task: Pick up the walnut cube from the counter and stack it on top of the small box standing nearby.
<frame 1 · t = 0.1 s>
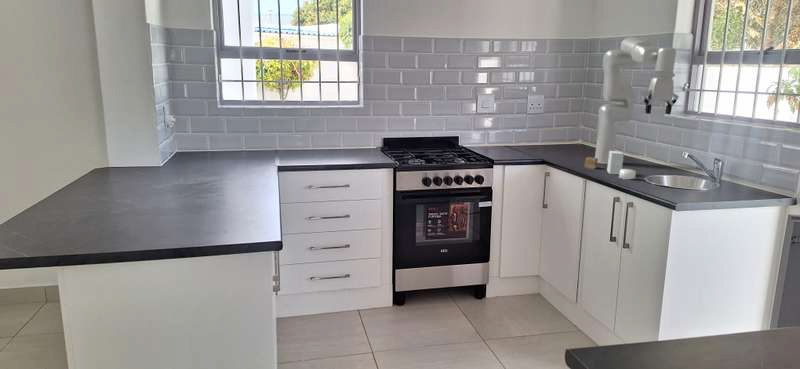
hand: (657, 113, 257), 31 cm above the worktop, tool pointing down, fingers open, 9 cm apart
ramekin: (626, 178, 266), on the worktop
small box: (613, 173, 278), on the worktop
walnut cube: (590, 167, 290), on the worktop
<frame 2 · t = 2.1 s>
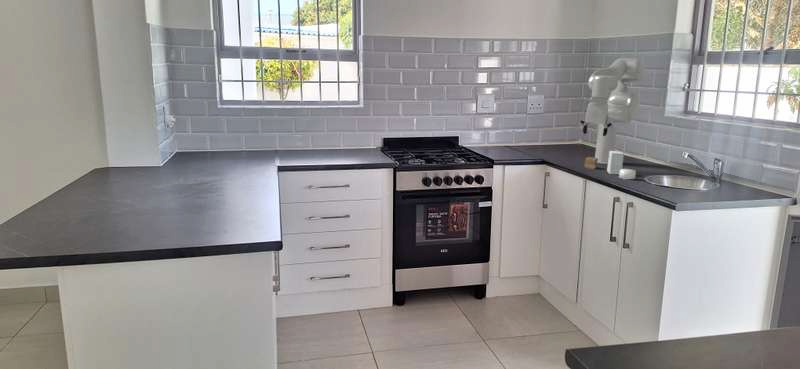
hand: (594, 134, 286), 17 cm above the worktop, tool pointing down, fingers open, 9 cm apart
nothing on the worktop moved.
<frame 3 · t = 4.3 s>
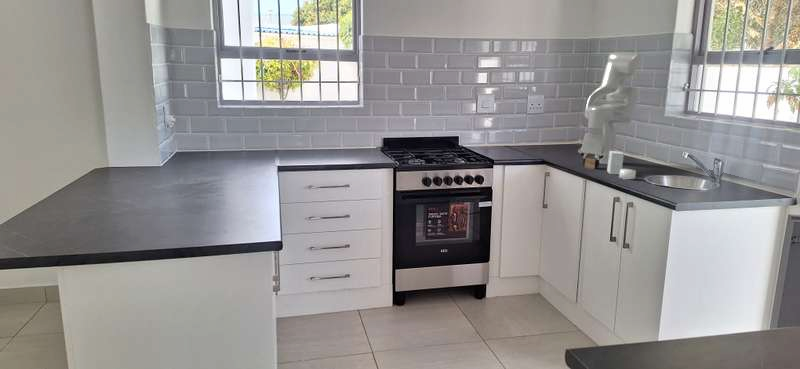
hand: (590, 166, 289), 1 cm above the worktop, tool pointing down, fingers closed on walnut cube, 5 cm apart
walnut cube: (590, 167, 290), on the worktop, touching gripper
everything else where it was.
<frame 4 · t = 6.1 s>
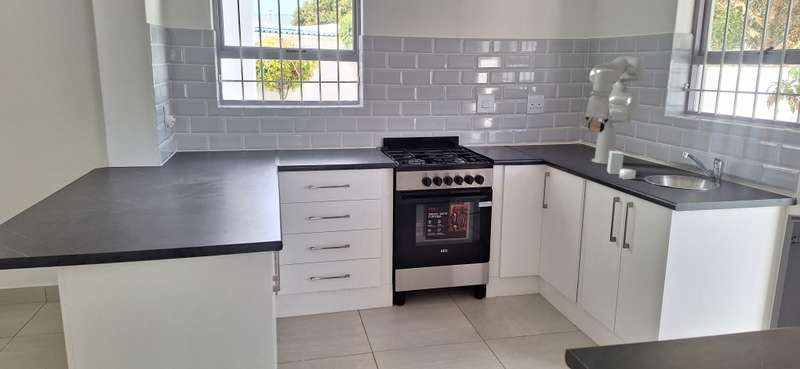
hand: (595, 130, 285), 19 cm above the worktop, tool pointing down, fingers closed on walnut cube, 5 cm apart
walnut cube: (595, 131, 285), point 19 cm above the worktop, touching gripper
everything else where it was.
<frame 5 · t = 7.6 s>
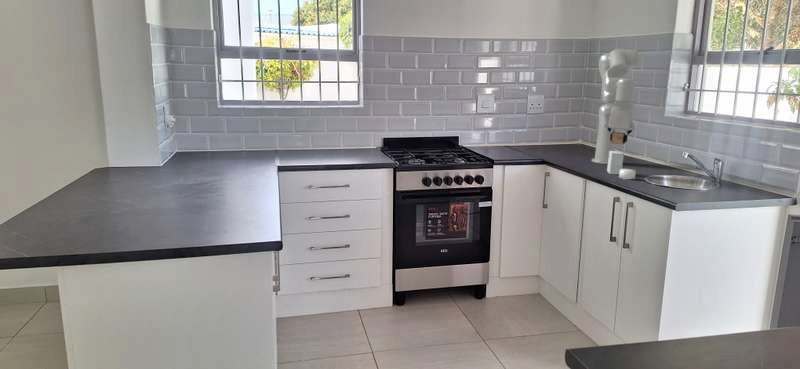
hand: (618, 141, 274), 16 cm above the worktop, tool pointing down, fingers closed on walnut cube, 5 cm apart
walnut cube: (617, 143, 274), point 15 cm above the worktop, touching gripper
everything else where it was.
when the fingers open (13 cm above the worktop, at t = 8.4 s): walnut cube drops 2 cm, resting on small box.
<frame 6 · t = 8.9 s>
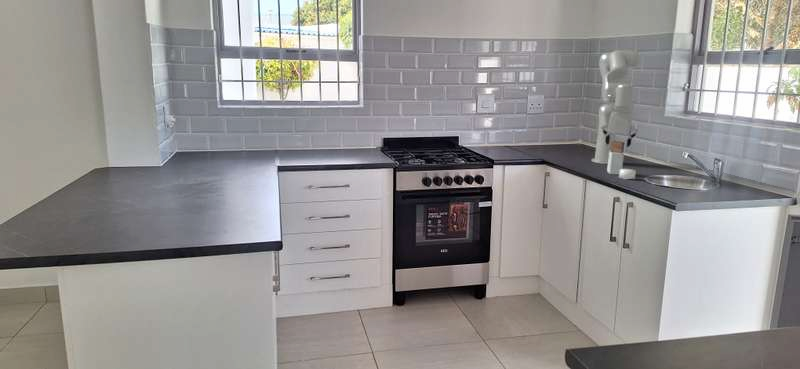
hand: (617, 145, 275), 14 cm above the worktop, tool pointing down, fingers open, 9 cm apart
small box: (613, 173, 278), on the worktop, touching walnut cube
walnut cube: (616, 152, 276), point 10 cm above the worktop, touching small box
everything else where it was.
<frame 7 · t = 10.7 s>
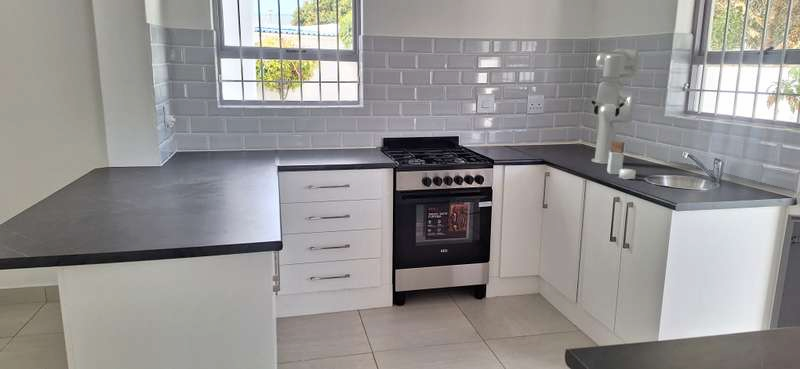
hand: (606, 115, 280), 27 cm above the worktop, tool pointing down, fingers open, 9 cm apart
nothing on the worktop moved.
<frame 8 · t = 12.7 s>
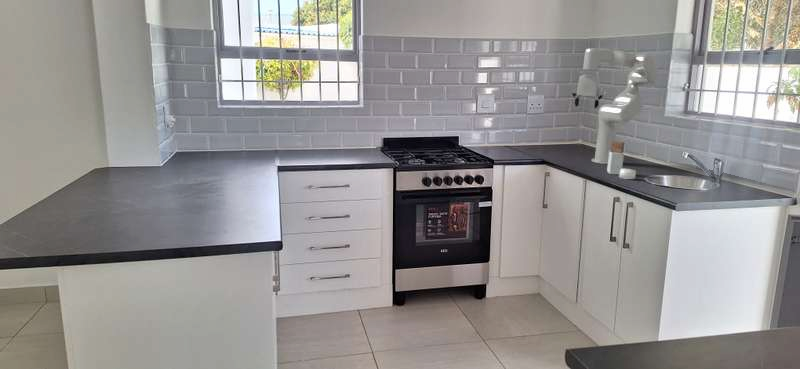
hand: (586, 107, 290), 30 cm above the worktop, tool pointing down, fingers open, 9 cm apart
nothing on the worktop moved.
at the end: walnut cube inside the target area on the small box (0.1 cm from its centre), point 10.7 cm above the small box's base; walnut cube touching small box; small box tilted 0° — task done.
